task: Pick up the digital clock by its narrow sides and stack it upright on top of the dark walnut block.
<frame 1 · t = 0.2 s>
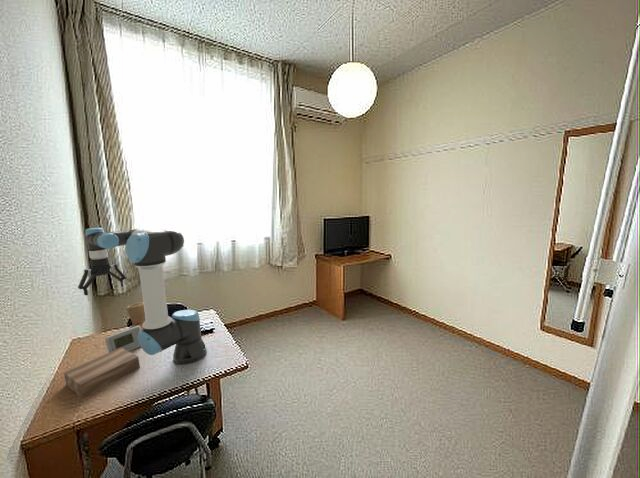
hand: (105, 296, 148), 27 cm above the table, fingers open, 13 cm apart
walnut block: (104, 376, 126), on the table
digital clock: (127, 350, 146), on the table
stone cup: (139, 327, 171), on the table
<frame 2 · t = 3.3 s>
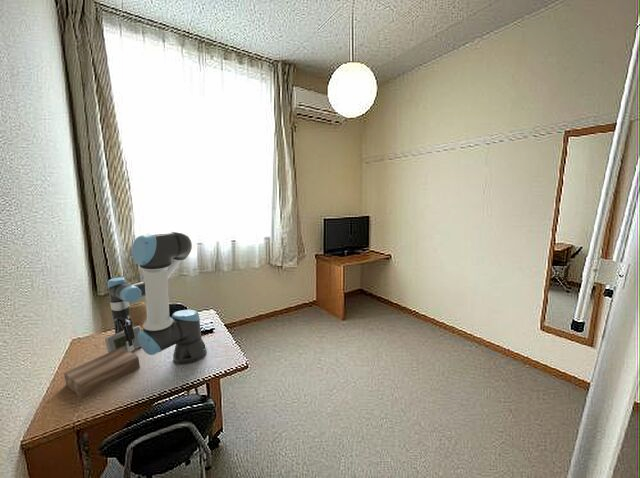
hand: (126, 349, 146), 1 cm above the table, fingers closed on digital clock, 7 cm apart
digital clock: (127, 351, 146), on the table, touching gripper
everything else where it was.
when the fingers open (8 cm above the table, at t = 10.5 s): digital clock drops 1 cm, resting on walnut block.
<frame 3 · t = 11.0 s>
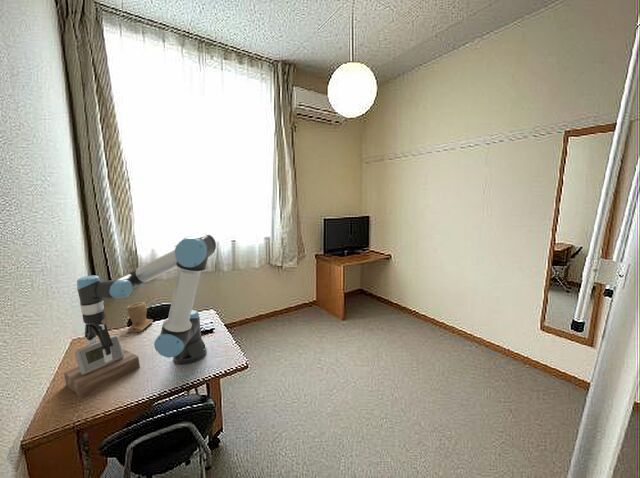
hand: (101, 356, 124), 10 cm above the table, fingers open, 13 cm apart
digital clock: (102, 365, 124), point 6 cm above the table, touching walnut block
everything else where it was.
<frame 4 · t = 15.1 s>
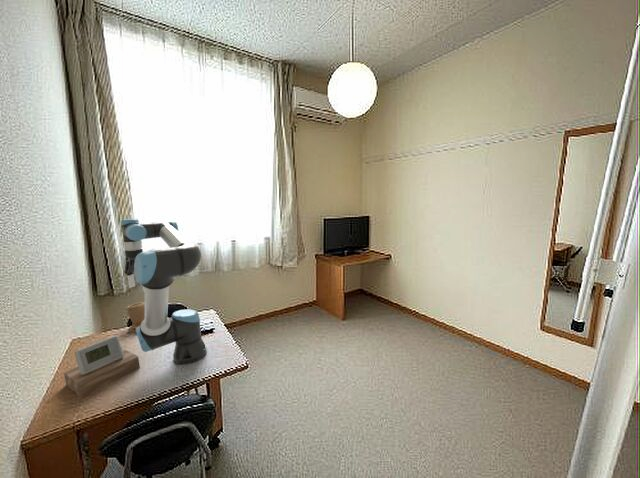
hand: (139, 289, 146), 32 cm above the table, fingers open, 13 cm apart
nothing on the table moved.
at the end: digital clock inside the target area on the walnut block (0.9 cm from its centre), point 5.8 cm above the walnut block's base; digital clock tilted 0°; digital clock touching walnut block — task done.
